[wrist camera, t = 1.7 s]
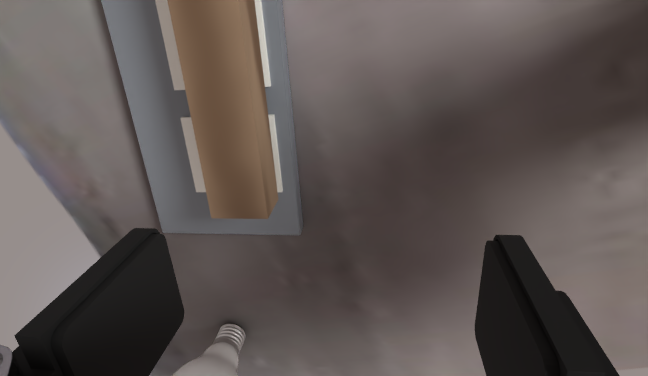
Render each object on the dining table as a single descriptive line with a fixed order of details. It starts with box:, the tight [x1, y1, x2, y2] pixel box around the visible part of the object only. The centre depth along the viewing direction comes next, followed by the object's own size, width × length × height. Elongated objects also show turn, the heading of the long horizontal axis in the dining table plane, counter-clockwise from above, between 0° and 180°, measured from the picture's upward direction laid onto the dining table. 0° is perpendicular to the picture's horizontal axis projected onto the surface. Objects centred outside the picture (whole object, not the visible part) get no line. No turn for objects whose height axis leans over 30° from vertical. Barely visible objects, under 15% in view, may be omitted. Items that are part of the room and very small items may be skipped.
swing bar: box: [167, 0, 278, 219], centre depth 23 cm, size 4×24×3 cm, turn 3°
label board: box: [101, 0, 303, 235], centre depth 29 cm, size 12×22×2 cm, turn 3°
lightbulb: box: [172, 324, 246, 376], centre depth 35 cm, size 6×6×11 cm
